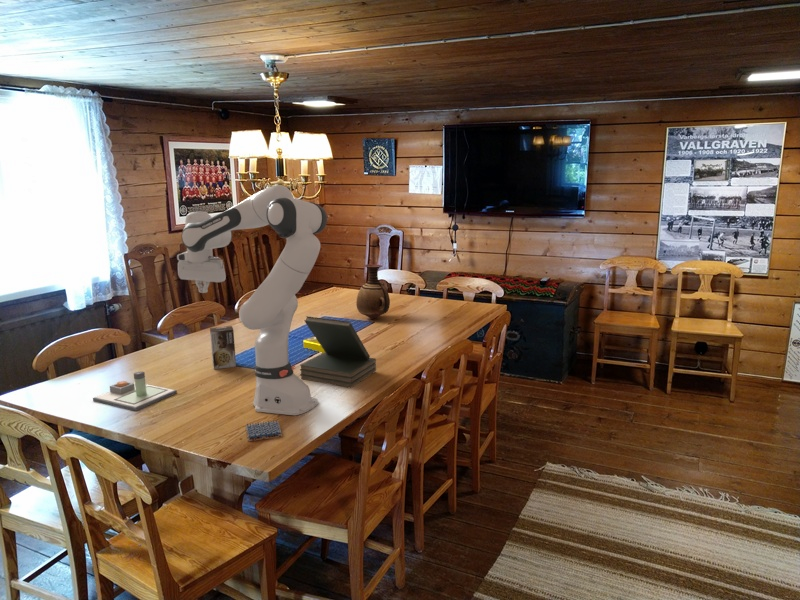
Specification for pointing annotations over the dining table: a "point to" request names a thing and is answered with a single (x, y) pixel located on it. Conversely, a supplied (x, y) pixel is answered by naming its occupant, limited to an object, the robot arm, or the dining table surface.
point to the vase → (373, 295)
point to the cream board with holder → (133, 396)
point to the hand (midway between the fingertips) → (203, 292)
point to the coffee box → (223, 347)
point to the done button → (121, 384)
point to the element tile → (313, 344)
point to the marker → (140, 383)
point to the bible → (337, 354)
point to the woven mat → (263, 431)
